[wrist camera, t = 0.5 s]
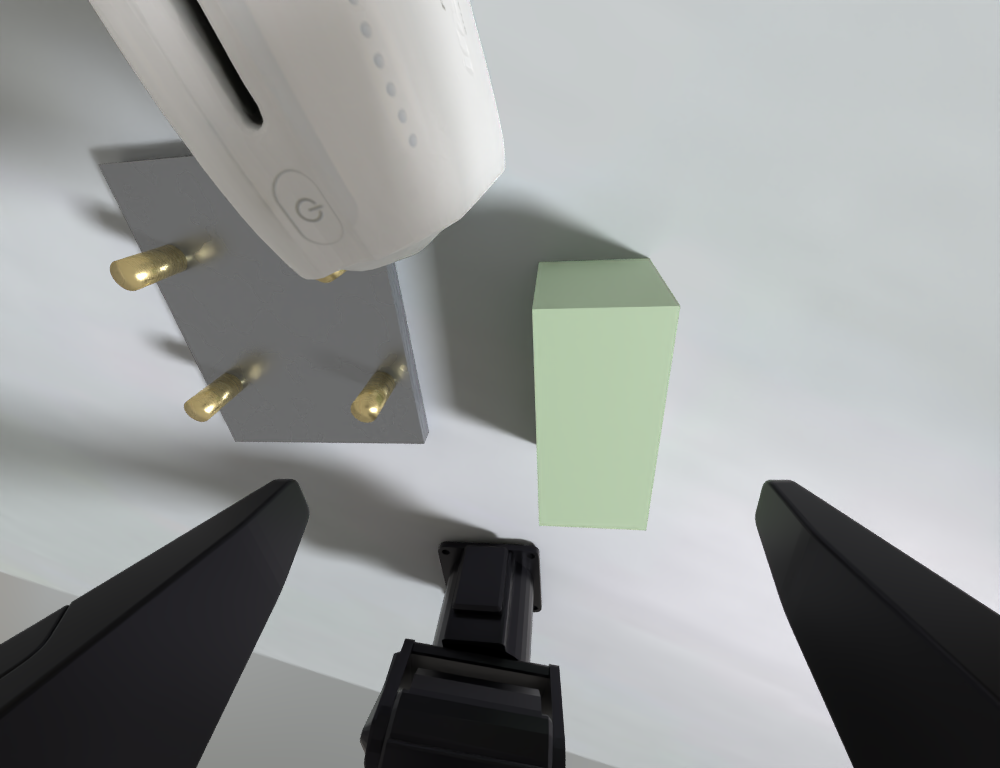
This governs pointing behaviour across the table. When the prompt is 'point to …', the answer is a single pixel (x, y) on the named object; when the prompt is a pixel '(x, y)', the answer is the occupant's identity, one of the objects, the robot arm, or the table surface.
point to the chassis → (268, 319)
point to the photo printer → (324, 116)
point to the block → (600, 389)
